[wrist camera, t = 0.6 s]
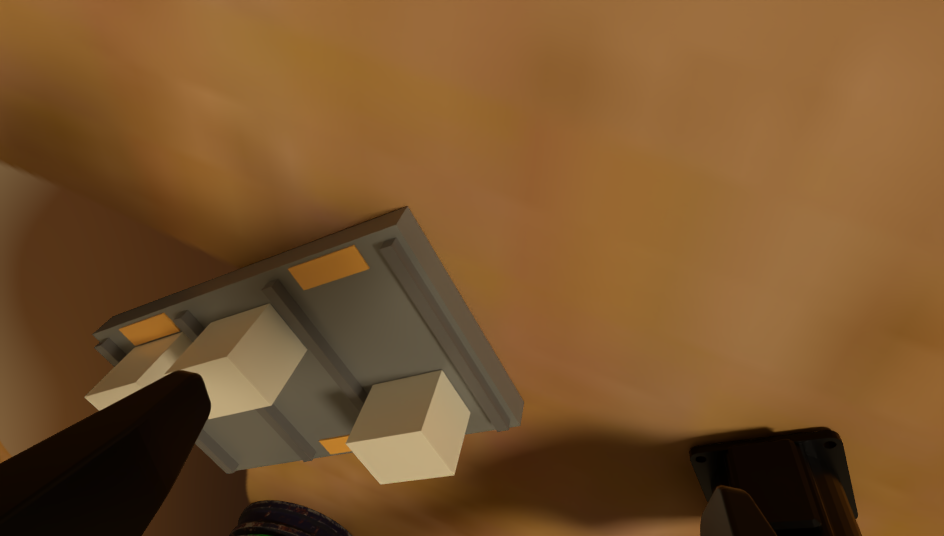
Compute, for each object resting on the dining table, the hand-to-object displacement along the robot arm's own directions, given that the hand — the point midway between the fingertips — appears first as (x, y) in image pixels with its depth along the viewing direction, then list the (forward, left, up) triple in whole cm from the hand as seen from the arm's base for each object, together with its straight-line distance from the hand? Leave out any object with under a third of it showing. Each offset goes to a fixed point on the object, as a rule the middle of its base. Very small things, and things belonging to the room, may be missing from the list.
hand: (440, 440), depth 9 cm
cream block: (-4, +22, -11) cm, 25 cm away
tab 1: (-4, +16, -11) cm, 20 cm away
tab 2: (-10, +10, -11) cm, 18 cm away
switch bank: (-7, +16, -13) cm, 21 cm away
